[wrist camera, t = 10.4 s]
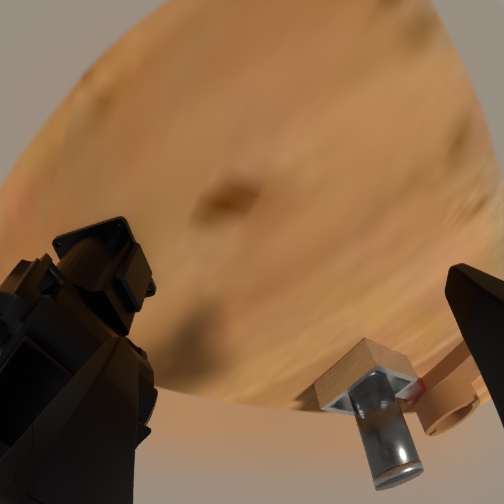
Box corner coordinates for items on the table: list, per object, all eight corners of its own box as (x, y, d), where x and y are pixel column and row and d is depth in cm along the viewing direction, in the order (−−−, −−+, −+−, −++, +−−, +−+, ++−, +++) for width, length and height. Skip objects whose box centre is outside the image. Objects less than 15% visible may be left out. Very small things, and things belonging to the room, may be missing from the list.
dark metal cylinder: (339, 399, 29) (365, 493, 19) (362, 373, 27) (396, 475, 17) (373, 399, 30) (402, 485, 20) (396, 374, 27) (433, 465, 18)
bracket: (425, 400, 38) (441, 436, 32) (397, 393, 35) (415, 435, 29) (513, 318, 31) (538, 351, 25) (498, 298, 28) (529, 336, 22)
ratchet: (364, 337, 27) (376, 364, 24) (444, 371, 33) (454, 390, 30) (313, 382, 30) (320, 409, 28) (403, 404, 36) (411, 423, 33)
